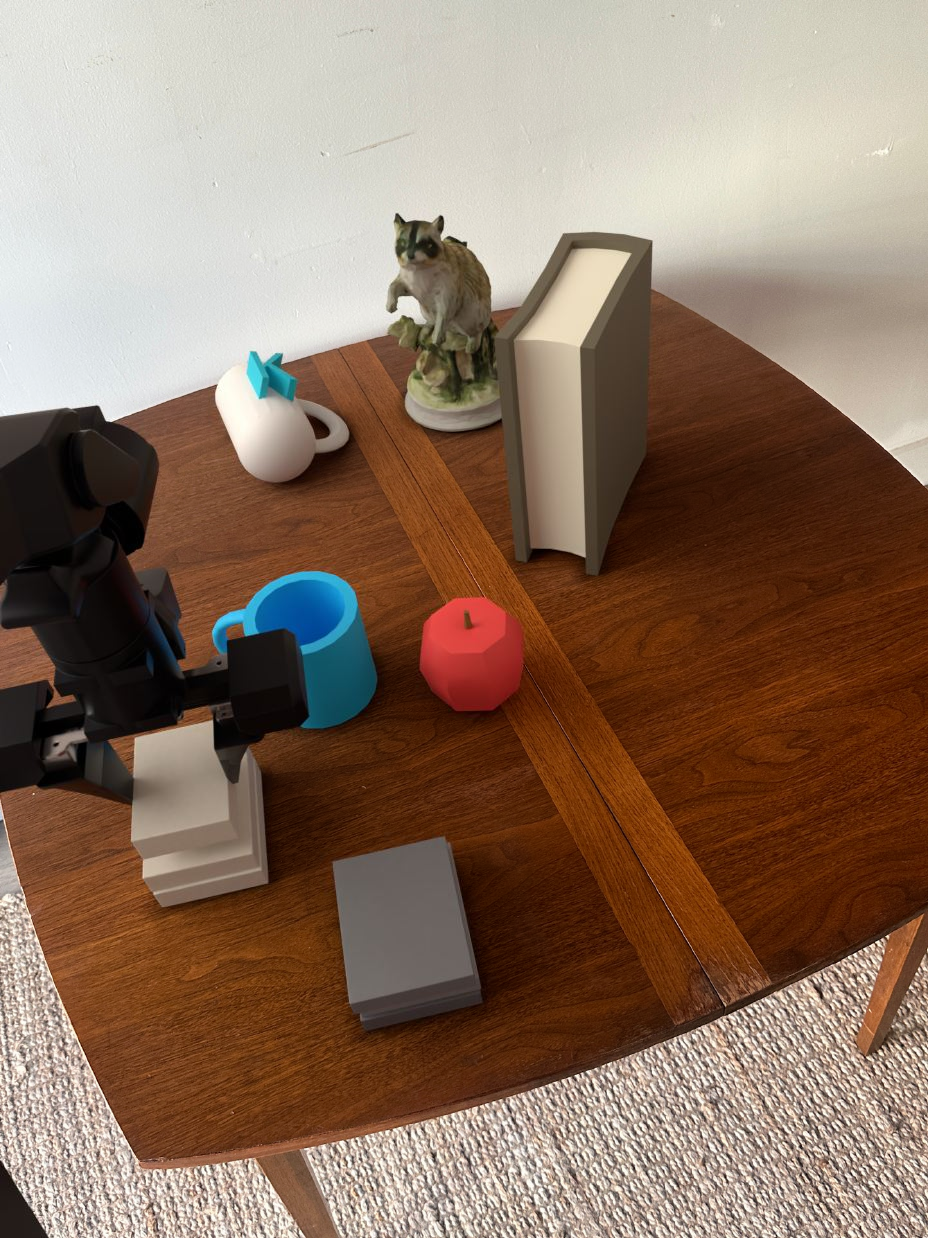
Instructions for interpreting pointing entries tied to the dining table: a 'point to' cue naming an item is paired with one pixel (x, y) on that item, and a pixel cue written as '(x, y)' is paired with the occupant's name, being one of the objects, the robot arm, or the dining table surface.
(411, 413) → the figurine
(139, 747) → the white block
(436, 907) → the grey pile
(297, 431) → the mug
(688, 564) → the dining table surface
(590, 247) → the book
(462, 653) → the apple
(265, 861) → the white pile
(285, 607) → the mug
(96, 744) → the robot arm
